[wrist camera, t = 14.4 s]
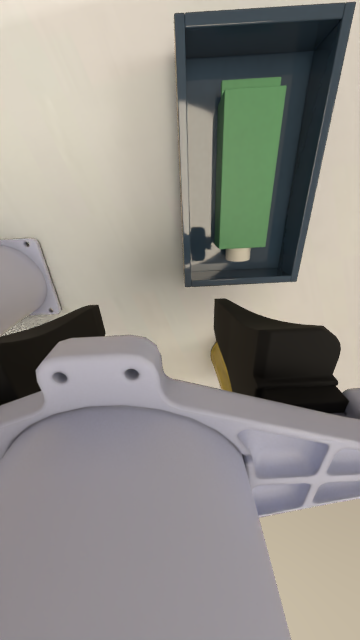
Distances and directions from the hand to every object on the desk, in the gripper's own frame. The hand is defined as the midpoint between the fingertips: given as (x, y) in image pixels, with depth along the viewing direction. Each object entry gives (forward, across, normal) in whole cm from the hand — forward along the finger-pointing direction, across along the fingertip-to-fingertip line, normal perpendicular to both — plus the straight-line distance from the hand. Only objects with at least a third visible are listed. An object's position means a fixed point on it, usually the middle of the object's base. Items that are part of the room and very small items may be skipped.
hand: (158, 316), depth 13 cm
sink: (+10, -7, -8) cm, 15 cm away
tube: (+10, -7, -8) cm, 14 cm away
